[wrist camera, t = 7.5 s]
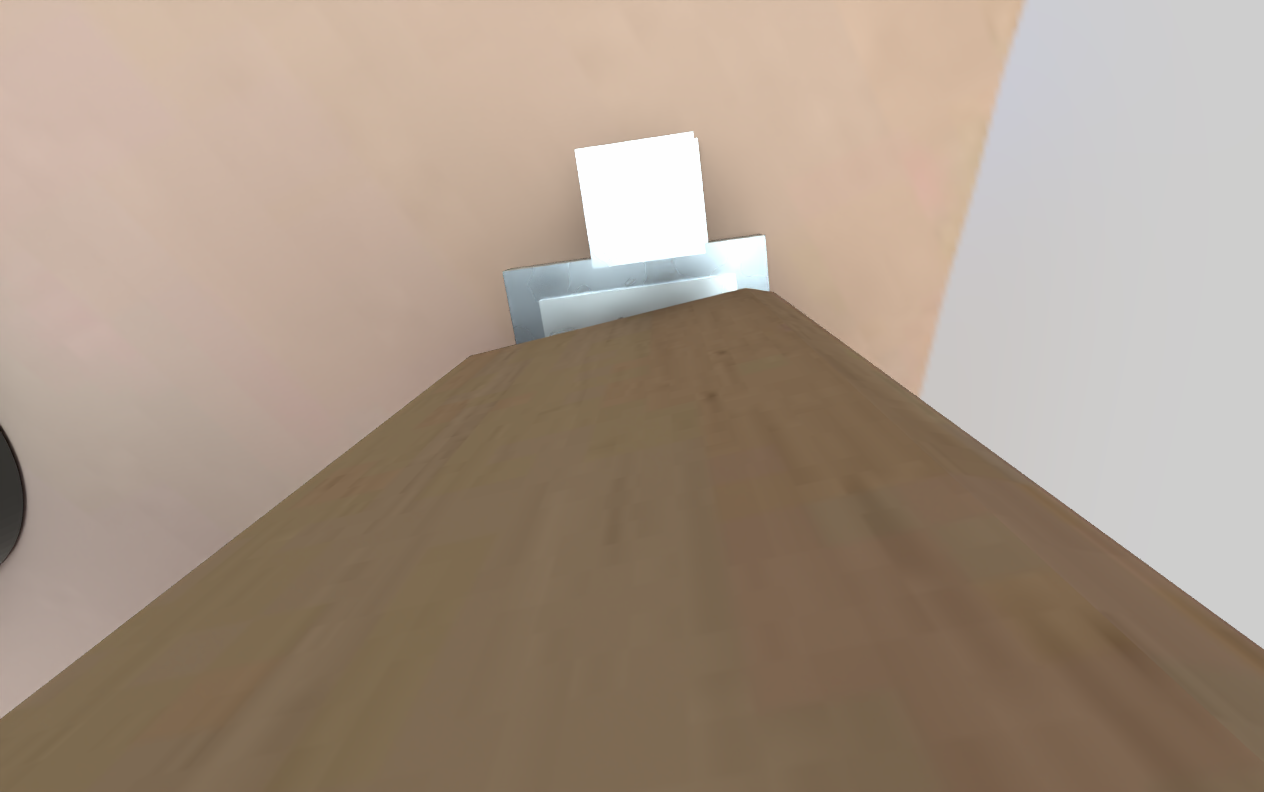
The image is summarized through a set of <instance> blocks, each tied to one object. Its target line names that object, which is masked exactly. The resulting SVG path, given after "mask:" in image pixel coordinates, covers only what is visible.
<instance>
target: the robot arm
mask: <svg viewBox="0 0 1264 792" xmlns="http://www.w3.org/2000/svg"><path fill="white" fill-rule="evenodd" d="M22 515H23V494H22V486H21V481H20V476H19V472H18V469H17V466H16V463H15V460H14V458H13V455H12V453H11V450H10V448H9V446H8V444H7V442H6V440H5V438H4V437H3V435H2V433H1V431H0V564H1V563H2V562H3V561H4V559H5V558H6V557H7V556H8V554H9V553H10V551H11V550H12V548H13V546H14V544H15V542H16V539H17V537H18V534H19V531H20V527H21V522H22Z"/></svg>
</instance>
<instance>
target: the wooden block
mask: <svg viewBox="0 0 1264 792" xmlns="http://www.w3.org/2000/svg"><path fill="white" fill-rule="evenodd" d="M0 792H1264V649H1262V648H1261V647H1260V646H1258V645H1257V644H1255V643H1254V642H1253V641H1251V640H1250V639H1249V638H1247V637H1246V636H1245V635H1243V634H1242V633H1240V632H1239V631H1237V630H1236V629H1235V628H1233V627H1232V626H1231V625H1229V624H1228V623H1227V622H1225V621H1224V620H1223V619H1221V618H1220V617H1218V616H1217V615H1216V614H1214V613H1213V612H1211V611H1210V610H1209V609H1207V608H1206V607H1205V606H1203V605H1202V604H1201V603H1199V602H1198V601H1197V600H1195V599H1194V598H1192V597H1191V596H1190V595H1188V594H1187V593H1185V592H1184V591H1182V590H1181V589H1180V588H1179V587H1177V586H1176V585H1175V584H1173V583H1172V582H1170V581H1169V580H1168V579H1166V578H1165V577H1164V576H1162V575H1161V574H1159V573H1158V572H1157V571H1155V570H1154V569H1153V568H1151V567H1150V566H1149V565H1147V564H1146V563H1144V562H1143V561H1142V560H1140V559H1139V558H1138V557H1136V556H1135V555H1133V554H1132V553H1131V552H1129V551H1128V550H1126V549H1125V548H1124V547H1122V546H1121V545H1120V544H1118V543H1117V542H1116V541H1114V540H1113V539H1111V538H1110V537H1109V536H1107V535H1106V534H1105V533H1103V532H1102V531H1100V530H1099V529H1098V528H1096V527H1095V526H1094V525H1092V524H1091V523H1090V522H1088V521H1087V520H1085V519H1084V518H1083V517H1081V516H1080V515H1079V514H1077V513H1076V512H1074V511H1073V510H1072V509H1070V508H1069V507H1067V506H1066V505H1065V504H1064V503H1062V502H1061V501H1059V500H1058V499H1057V498H1055V497H1054V496H1053V495H1051V494H1050V493H1048V492H1047V491H1046V490H1044V489H1043V488H1042V487H1040V486H1039V485H1037V484H1036V483H1035V482H1033V481H1032V480H1030V479H1029V478H1028V477H1026V476H1025V475H1024V474H1022V473H1021V472H1020V471H1018V470H1017V469H1016V468H1014V467H1013V466H1011V465H1010V464H1009V463H1007V462H1006V461H1004V460H1003V459H1002V458H1000V457H999V456H997V455H996V454H995V453H994V452H992V451H991V450H989V449H988V448H987V447H985V446H984V445H982V444H981V443H980V442H979V441H977V440H976V439H974V438H973V437H971V436H970V435H969V434H968V433H966V432H965V431H963V430H962V429H961V428H959V427H958V426H957V425H955V424H954V423H952V422H951V421H950V420H948V419H947V418H945V417H944V416H943V415H941V414H940V413H939V412H937V411H936V410H935V409H933V408H932V407H931V406H929V405H928V404H926V403H925V402H924V401H922V400H921V399H920V398H918V397H917V396H915V395H914V394H913V393H911V392H910V391H909V390H907V389H906V388H904V387H903V386H902V385H900V384H899V383H898V382H896V381H895V380H893V379H892V378H891V377H889V376H888V375H887V374H885V373H884V372H883V371H881V370H880V369H878V368H877V367H876V366H874V365H873V364H872V363H870V362H869V361H867V360H866V359H865V358H863V357H862V356H861V355H859V354H858V353H856V352H855V351H854V350H852V349H851V348H850V347H848V346H847V345H846V344H844V343H843V342H841V341H840V340H839V339H837V338H836V337H835V336H833V335H832V334H830V333H829V332H828V331H826V330H825V329H824V328H822V327H821V326H819V325H818V324H817V323H815V322H814V321H813V320H811V319H810V318H808V317H807V316H806V315H804V314H803V313H802V312H800V311H799V310H798V309H796V308H795V307H793V306H792V305H791V304H789V303H788V302H787V301H785V300H784V299H782V298H781V297H780V296H778V295H777V294H776V293H774V292H771V291H764V290H758V289H751V288H743V289H738V290H734V291H730V292H726V293H722V294H718V295H714V296H710V297H706V298H702V299H698V300H694V301H690V302H686V303H682V304H678V305H674V306H670V307H666V308H662V309H658V310H654V311H650V312H646V313H642V314H637V315H633V316H629V317H625V318H621V319H617V320H613V321H609V322H605V323H601V324H597V325H593V326H589V327H585V328H581V329H577V330H573V331H569V332H565V333H561V334H557V335H553V336H549V337H545V338H541V339H536V340H532V341H528V342H524V343H520V344H516V345H512V346H508V347H504V348H500V349H496V350H492V351H488V352H484V353H480V354H476V355H472V356H469V357H468V358H467V359H466V360H464V361H463V362H462V363H460V364H459V365H458V366H457V367H455V368H454V369H453V370H451V371H450V372H449V373H447V374H446V375H445V376H444V377H442V378H441V379H440V380H438V381H437V382H436V383H435V384H433V385H432V386H431V387H429V388H428V389H427V390H425V391H424V392H423V393H422V394H420V395H419V396H418V397H416V398H415V399H414V400H413V401H411V402H410V403H409V404H407V405H406V406H405V407H403V408H402V409H401V410H400V411H398V412H397V413H396V414H394V415H393V416H392V417H391V418H389V419H388V420H387V421H385V422H384V423H383V424H381V425H380V426H379V427H378V428H376V429H375V430H374V431H372V432H371V433H370V434H369V435H367V436H366V437H365V438H363V439H362V440H361V441H360V442H358V443H357V444H356V445H354V446H353V447H352V448H350V449H349V450H348V451H347V452H345V453H344V454H343V455H341V456H340V457H339V458H338V459H336V460H335V461H334V462H332V463H331V464H330V465H328V466H327V467H326V468H325V469H323V470H322V471H321V472H319V473H318V474H317V475H316V476H314V477H313V478H312V479H310V480H309V481H308V482H306V483H305V484H304V485H303V486H301V487H300V488H299V489H297V490H296V491H295V492H294V493H292V494H291V495H290V496H288V497H287V498H286V499H284V500H283V501H282V502H281V503H279V504H278V505H277V506H275V507H274V508H273V509H272V510H270V511H269V512H268V513H266V514H265V515H264V516H263V517H261V518H260V519H259V520H257V521H256V522H255V523H253V524H252V525H251V526H250V527H248V528H247V529H246V530H244V531H243V532H242V533H241V534H239V535H238V536H237V537H235V538H234V539H233V540H231V541H230V542H229V543H228V544H226V545H225V546H224V547H222V548H221V549H220V550H219V551H217V552H216V553H215V554H213V555H212V556H211V557H209V558H208V559H207V560H206V561H204V562H203V563H202V564H200V565H199V566H198V567H197V568H195V569H194V570H193V571H191V572H190V573H189V574H188V575H186V576H185V577H184V578H182V579H181V580H180V581H178V582H177V583H176V584H175V585H173V586H172V587H171V588H169V589H168V590H167V591H166V592H164V593H163V594H162V595H160V596H159V597H158V598H156V599H155V600H154V601H153V602H151V603H150V604H149V605H147V606H146V607H145V608H144V609H142V610H141V611H140V612H138V613H137V614H136V615H134V616H133V617H132V618H131V619H129V620H128V621H127V622H125V623H124V624H123V625H122V626H120V627H119V628H118V629H116V630H115V631H114V632H113V633H111V634H110V635H109V636H107V637H106V638H105V639H103V640H102V641H101V642H100V643H98V644H97V645H96V646H94V647H93V648H92V649H91V650H89V651H88V652H87V653H85V654H84V655H83V656H81V657H80V658H79V659H78V660H76V661H75V662H74V663H72V664H71V665H70V666H69V667H67V668H66V669H65V670H63V671H62V672H61V673H59V674H58V675H57V676H56V677H54V678H53V679H52V680H50V681H49V682H48V683H47V684H45V685H44V686H43V687H41V688H40V689H39V690H37V691H36V692H35V693H34V694H32V695H31V696H30V697H28V698H27V699H26V700H25V701H23V702H22V703H21V704H19V705H18V706H17V707H16V708H14V709H13V710H12V711H10V712H9V713H8V714H6V715H5V716H4V717H3V718H1V719H0Z"/></svg>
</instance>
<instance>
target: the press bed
mask: <svg viewBox="0 0 1264 792" xmlns="http://www.w3.org/2000/svg"><path fill="white" fill-rule="evenodd" d="M575 154H576V161H577V167H578V174H579V181H580V187H581V194H582V200H583V207H584V214H585V220H586V227H587V233H588V240H589V246H590V253H591V258H584V259H576V260H569V261H562V262H555V263H548V264H540V265H533V266H526V267H519V268H511V269H508V270H505V271H503V277H504V282H505V287H506V292H507V298H508V303H509V308H510V314H511V319H512V324H513V329H514V335H515V340H516V344H520V343H524V342H528V341H532V340H536V339H541V338H545V337H549V336H553V335H557V334H561V333H565V332H569V331H573V330H577V329H581V328H585V327H589V326H593V325H597V324H601V323H605V322H609V321H613V320H617V319H621V318H625V317H629V316H633V315H637V314H642V313H646V312H650V311H654V310H658V309H662V308H666V307H670V306H674V305H678V304H682V303H686V302H690V301H694V300H698V299H702V298H706V297H710V296H714V295H718V294H722V293H726V292H730V291H734V290H738V289H743V288H751V289H758V290H764V291H769V278H768V266H767V253H766V240H765V235H762V234H757V235H750V236H742V237H735V238H728V239H721V240H714V241H708V235H707V226H706V216H705V206H704V196H703V187H702V177H701V167H700V157H699V148H698V138H694V137H693V132H687V133H681V134H674V135H667V136H661V137H654V138H648V139H641V140H634V141H628V142H621V143H615V144H608V145H601V146H595V147H588V148H582V149H575Z"/></svg>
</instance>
